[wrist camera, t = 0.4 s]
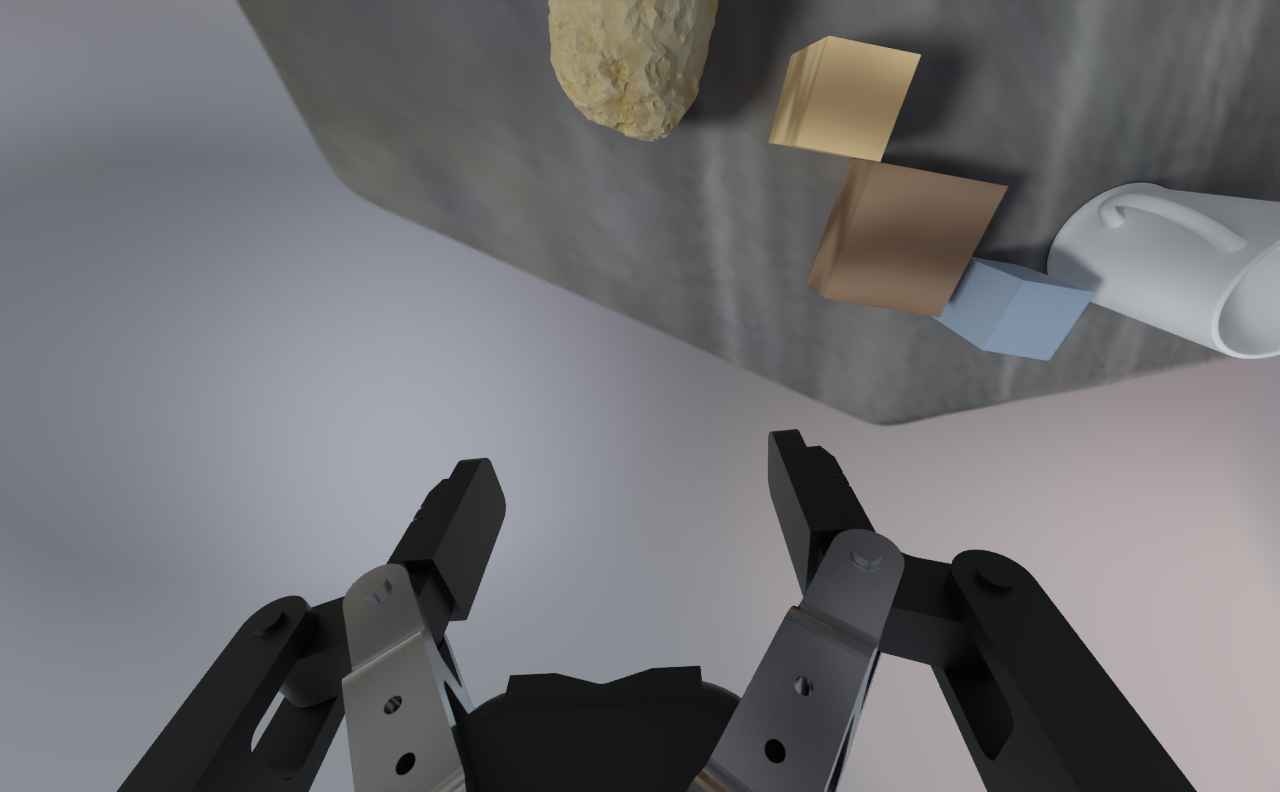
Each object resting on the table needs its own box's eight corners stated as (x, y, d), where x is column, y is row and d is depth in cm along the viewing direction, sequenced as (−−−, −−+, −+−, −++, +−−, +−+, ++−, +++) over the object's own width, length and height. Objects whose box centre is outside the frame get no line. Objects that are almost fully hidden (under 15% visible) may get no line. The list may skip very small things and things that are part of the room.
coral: (781, -98, 21) (706, 118, 22) (704, 36, 31) (655, 180, 31) (583, -232, 18) (508, 16, 19) (569, -41, 28) (520, 118, 29)
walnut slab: (850, 158, 32) (875, 161, 28) (970, 180, 33) (1008, 186, 29) (806, 282, 36) (823, 298, 33) (912, 299, 37) (939, 317, 34)
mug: (1000, 227, 34) (1152, 269, 24) (1118, 122, 31) (1357, 117, 20) (1079, 317, 38) (1242, 389, 27) (1193, 233, 34) (1430, 277, 24)
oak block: (791, 55, 29) (828, 35, 23) (865, 69, 29) (921, 54, 23) (768, 142, 32) (796, 146, 26) (836, 155, 32) (880, 161, 26)
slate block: (960, 254, 35) (1024, 280, 29) (1020, 265, 36) (1095, 292, 30) (929, 314, 38) (982, 350, 32) (985, 324, 38) (1048, 360, 32)
